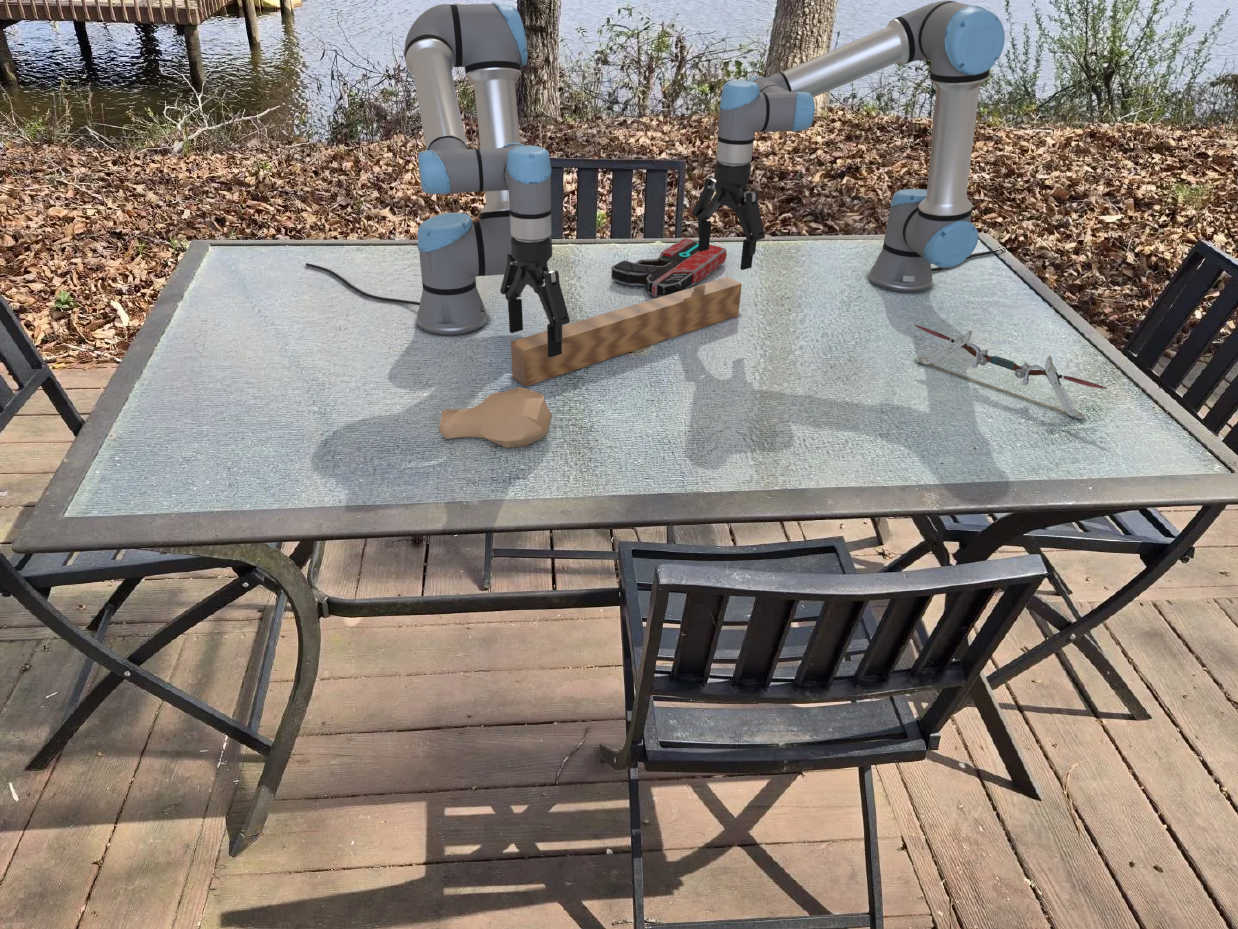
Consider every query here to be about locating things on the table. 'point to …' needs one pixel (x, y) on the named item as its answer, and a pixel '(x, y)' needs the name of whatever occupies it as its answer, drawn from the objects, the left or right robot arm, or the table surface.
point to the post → (625, 330)
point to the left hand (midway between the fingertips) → (535, 342)
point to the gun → (671, 268)
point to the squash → (501, 419)
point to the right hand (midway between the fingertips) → (724, 259)
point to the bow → (1020, 371)
